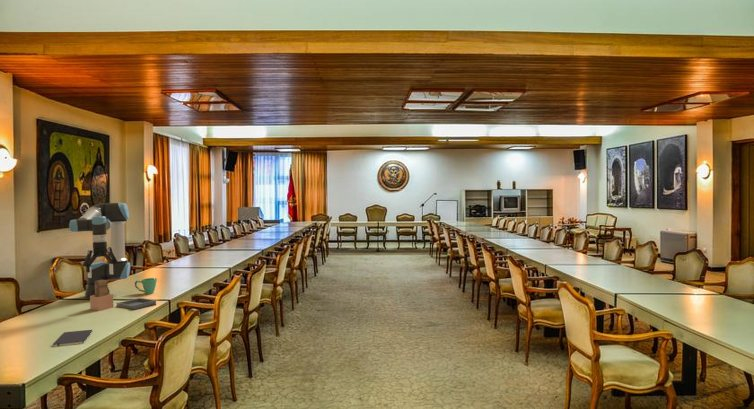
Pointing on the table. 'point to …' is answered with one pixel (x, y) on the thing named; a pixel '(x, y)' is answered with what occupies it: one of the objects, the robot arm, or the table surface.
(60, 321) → the table surface
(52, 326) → the table surface
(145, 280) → the mug
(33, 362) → the table surface
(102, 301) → the square pink sleeve
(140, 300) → the charcoal tray
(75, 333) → the notebook
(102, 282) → the walnut peg
